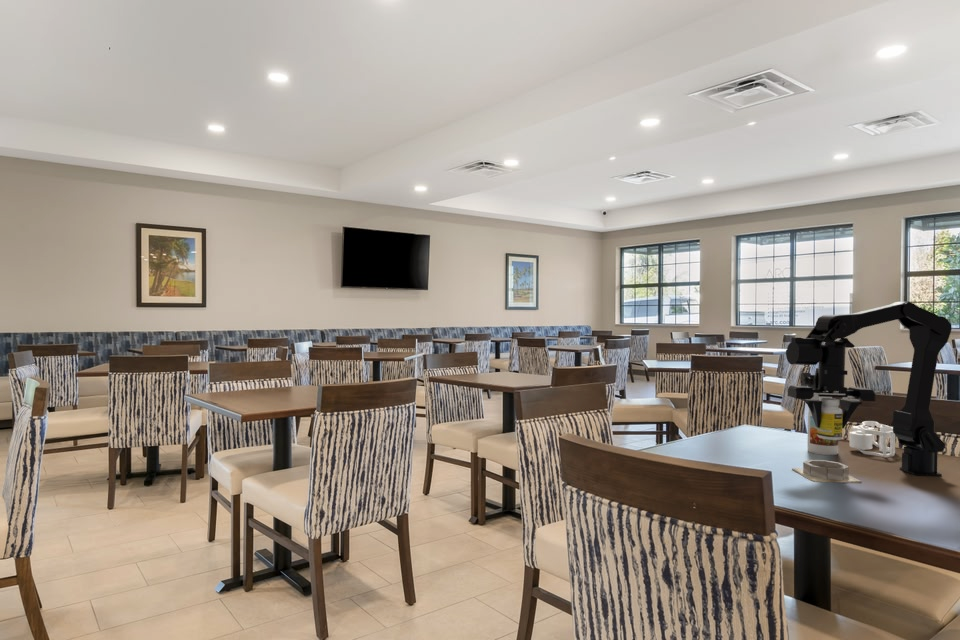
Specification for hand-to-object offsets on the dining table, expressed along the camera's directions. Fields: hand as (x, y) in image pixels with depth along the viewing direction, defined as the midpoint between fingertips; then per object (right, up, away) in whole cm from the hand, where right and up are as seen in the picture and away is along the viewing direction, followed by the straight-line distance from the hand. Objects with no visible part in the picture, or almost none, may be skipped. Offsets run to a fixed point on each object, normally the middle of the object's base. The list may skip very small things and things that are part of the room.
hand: (829, 427), depth 151 cm
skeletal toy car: (+29, -12, +28) cm, 42 cm away
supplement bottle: (0, -3, 0) cm, 3 cm away
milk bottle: (+12, -12, +24) cm, 29 cm away
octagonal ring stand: (-3, -12, -3) cm, 12 cm away
